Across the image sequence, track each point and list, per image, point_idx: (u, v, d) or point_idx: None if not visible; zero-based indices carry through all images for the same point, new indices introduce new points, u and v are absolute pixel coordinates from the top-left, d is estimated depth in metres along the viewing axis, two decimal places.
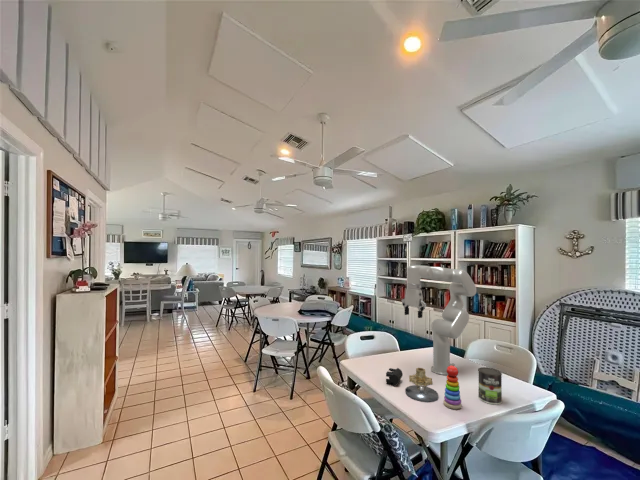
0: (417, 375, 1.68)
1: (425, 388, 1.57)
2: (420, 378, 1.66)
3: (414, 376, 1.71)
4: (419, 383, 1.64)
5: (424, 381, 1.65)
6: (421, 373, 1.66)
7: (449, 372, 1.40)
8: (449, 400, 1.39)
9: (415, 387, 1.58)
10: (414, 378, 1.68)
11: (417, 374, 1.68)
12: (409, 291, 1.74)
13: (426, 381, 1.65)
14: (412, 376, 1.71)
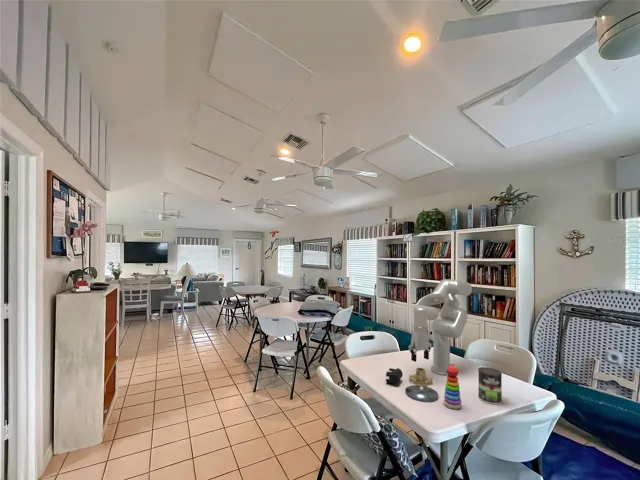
0: (417, 375, 1.68)
1: (425, 388, 1.57)
2: (420, 378, 1.66)
3: (414, 376, 1.71)
4: (419, 383, 1.64)
5: (424, 381, 1.65)
6: (421, 373, 1.66)
7: (449, 372, 1.40)
8: (449, 400, 1.39)
9: (415, 387, 1.58)
10: (414, 378, 1.68)
11: (417, 374, 1.68)
12: (423, 335, 1.67)
13: (426, 381, 1.65)
14: (412, 376, 1.71)
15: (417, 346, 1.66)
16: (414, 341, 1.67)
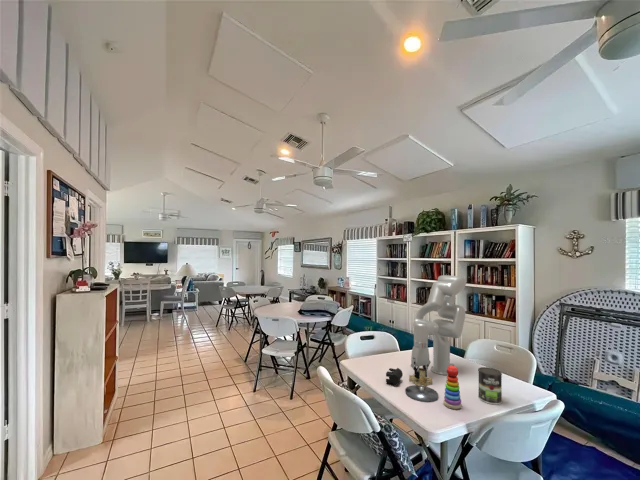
0: None
1: (425, 388, 1.57)
2: (420, 378, 1.66)
3: (414, 376, 1.71)
4: (419, 383, 1.64)
5: (424, 381, 1.65)
6: (421, 373, 1.66)
7: (449, 372, 1.40)
8: (449, 400, 1.39)
9: (415, 387, 1.58)
10: (414, 378, 1.68)
11: None
12: (423, 350, 1.67)
13: (426, 381, 1.65)
14: (412, 376, 1.71)
15: (417, 362, 1.65)
16: (414, 357, 1.67)
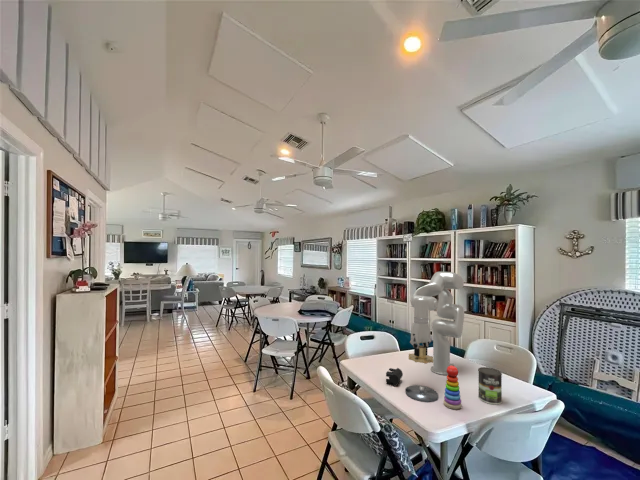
0: None
1: (425, 388, 1.57)
2: (420, 356, 1.57)
3: None
4: (419, 360, 1.54)
5: (424, 359, 1.55)
6: (421, 350, 1.57)
7: (449, 372, 1.40)
8: (449, 400, 1.39)
9: (415, 387, 1.58)
10: (414, 356, 1.59)
11: None
12: (423, 326, 1.57)
13: (426, 359, 1.55)
14: (412, 354, 1.61)
15: (417, 338, 1.56)
16: (414, 333, 1.57)
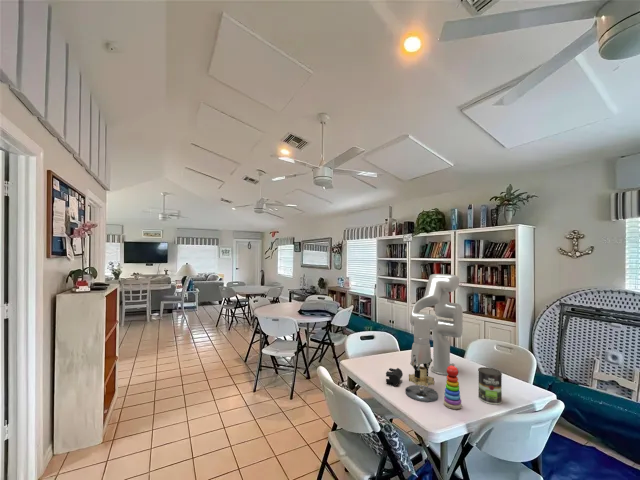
0: None
1: (425, 388, 1.57)
2: (421, 377, 1.50)
3: (414, 375, 1.55)
4: (420, 383, 1.48)
5: (425, 381, 1.49)
6: (422, 372, 1.50)
7: (449, 372, 1.40)
8: (449, 400, 1.39)
9: (415, 387, 1.58)
10: (414, 377, 1.52)
11: None
12: (424, 347, 1.51)
13: (427, 381, 1.49)
14: (412, 375, 1.55)
15: (418, 359, 1.49)
16: (414, 354, 1.51)
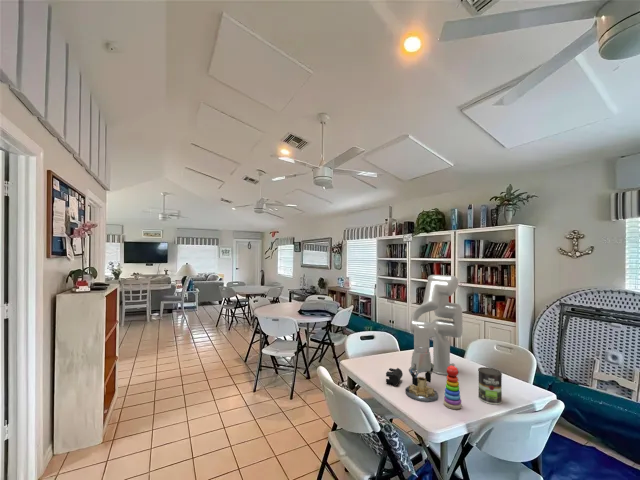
0: (418, 385, 1.52)
1: None
2: (421, 389, 1.50)
3: (414, 386, 1.55)
4: (420, 394, 1.48)
5: (425, 392, 1.49)
6: (422, 383, 1.50)
7: (449, 372, 1.40)
8: (449, 400, 1.39)
9: None
10: (414, 389, 1.52)
11: (418, 384, 1.52)
12: (424, 355, 1.51)
13: (428, 392, 1.49)
14: (412, 386, 1.55)
15: (418, 368, 1.49)
16: (415, 363, 1.51)
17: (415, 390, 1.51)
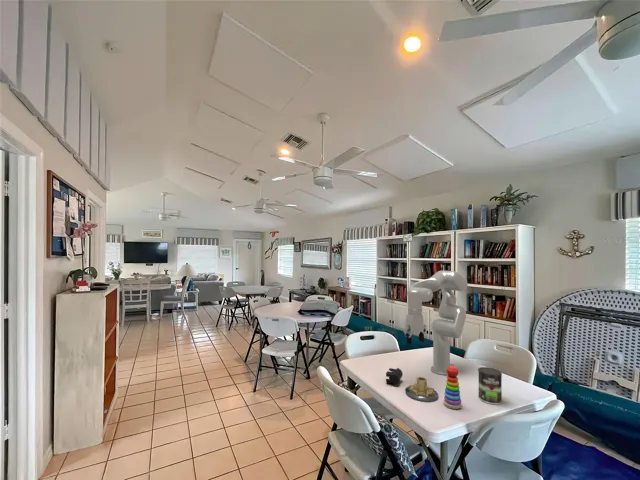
0: (418, 385, 1.52)
1: None
2: (421, 389, 1.50)
3: (414, 386, 1.55)
4: (420, 394, 1.48)
5: (425, 392, 1.49)
6: (422, 383, 1.50)
7: (449, 372, 1.40)
8: (449, 400, 1.39)
9: None
10: (414, 389, 1.52)
11: (418, 384, 1.52)
12: (417, 317, 1.63)
13: (428, 392, 1.49)
14: (412, 386, 1.55)
15: (412, 329, 1.61)
16: (409, 324, 1.62)
17: (415, 390, 1.51)
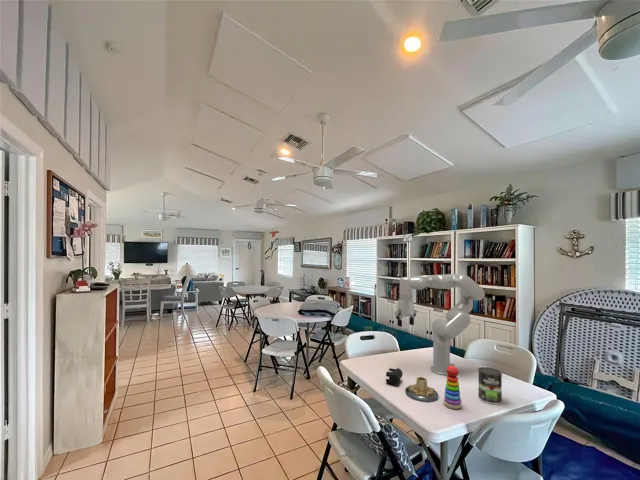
0: (418, 385, 1.52)
1: None
2: (421, 389, 1.50)
3: (414, 386, 1.55)
4: (420, 394, 1.48)
5: (425, 392, 1.49)
6: (422, 383, 1.50)
7: (449, 372, 1.40)
8: (449, 400, 1.39)
9: None
10: (414, 389, 1.52)
11: (418, 384, 1.52)
12: (407, 302, 1.80)
13: (428, 392, 1.49)
14: (412, 386, 1.55)
15: (402, 312, 1.79)
16: (400, 308, 1.80)
17: (415, 390, 1.51)
